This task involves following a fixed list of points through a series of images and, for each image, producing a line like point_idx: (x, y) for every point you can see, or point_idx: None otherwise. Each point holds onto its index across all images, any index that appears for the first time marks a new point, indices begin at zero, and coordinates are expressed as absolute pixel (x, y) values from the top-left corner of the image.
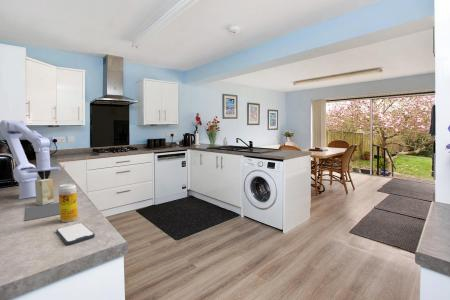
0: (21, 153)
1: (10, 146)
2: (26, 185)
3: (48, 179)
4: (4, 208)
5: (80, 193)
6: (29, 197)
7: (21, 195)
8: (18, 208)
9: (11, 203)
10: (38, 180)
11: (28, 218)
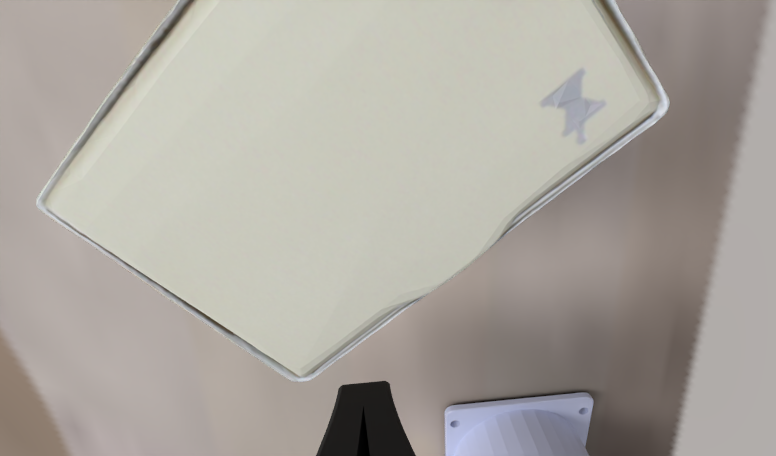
0: None
1: None
2: None
3: (179, 166)
4: (747, 112)
5: (9, 328)
6: (509, 400)
7: (578, 438)
8: (640, 4)
9: (658, 283)
10: (553, 83)
11: None
